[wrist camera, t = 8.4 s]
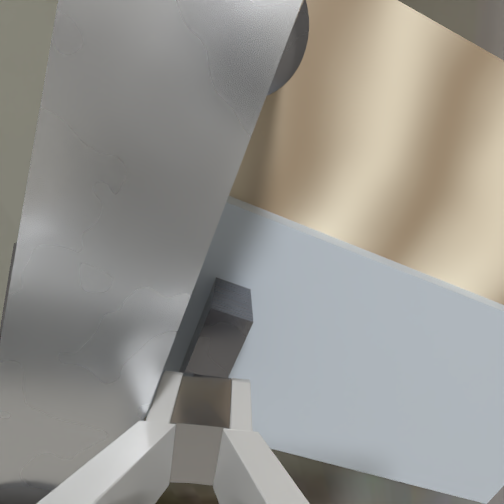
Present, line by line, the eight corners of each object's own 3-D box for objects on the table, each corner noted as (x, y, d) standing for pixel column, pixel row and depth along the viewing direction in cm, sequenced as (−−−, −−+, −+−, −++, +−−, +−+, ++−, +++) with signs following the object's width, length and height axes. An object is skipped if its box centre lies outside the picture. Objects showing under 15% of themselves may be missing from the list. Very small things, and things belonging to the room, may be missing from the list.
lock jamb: (67, 338, 16) (-26, 436, 10) (173, -94, 11) (99, -382, 5) (445, 447, 20) (526, 560, 15) (664, 175, 15) (931, 187, 9)
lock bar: (215, -52, 10) (126, -895, 2) (306, -3, 10) (521, -510, 2) (96, 359, 15) (-67, 591, 7) (161, 378, 15) (80, 612, 7)
